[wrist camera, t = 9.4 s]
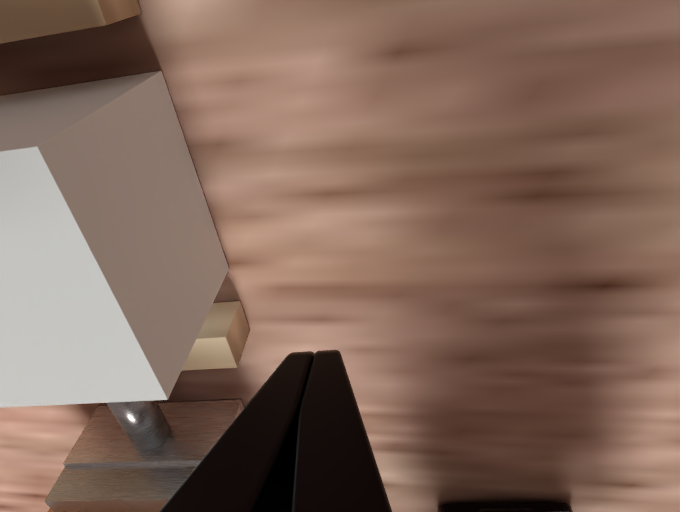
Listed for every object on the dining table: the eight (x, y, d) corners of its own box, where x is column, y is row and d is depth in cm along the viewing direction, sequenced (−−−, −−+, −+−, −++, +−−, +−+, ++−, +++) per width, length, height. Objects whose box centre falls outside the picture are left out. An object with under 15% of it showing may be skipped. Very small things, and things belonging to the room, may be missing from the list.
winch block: (276, 489, 25) (257, 584, 22) (152, 490, 27) (114, 582, 23) (214, 332, 20) (174, 426, 16) (58, 343, 21) (-14, 433, 17)
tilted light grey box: (229, 271, 18) (168, 402, 13) (58, 286, 19) (-60, 412, 14) (160, 67, 14) (34, 141, 9) (-51, 100, 15) (-268, 183, 10)
